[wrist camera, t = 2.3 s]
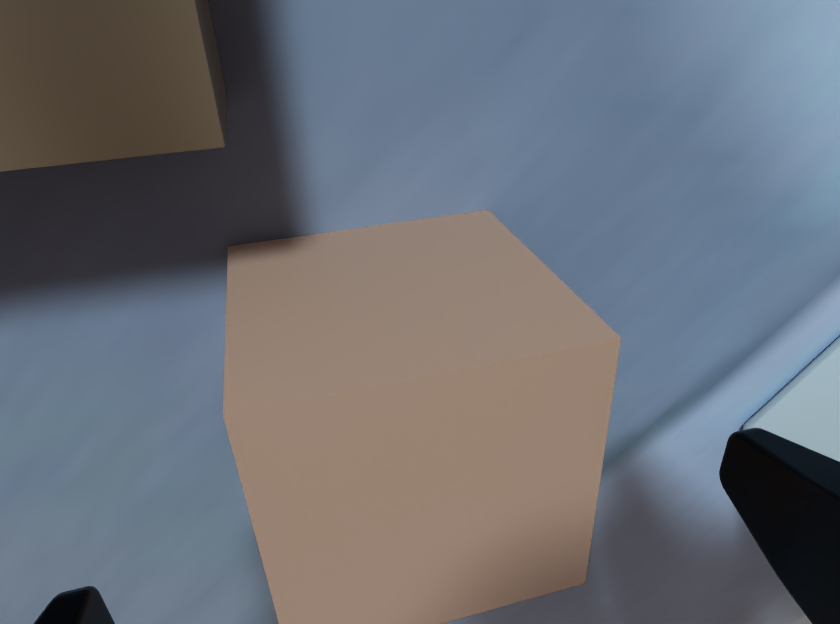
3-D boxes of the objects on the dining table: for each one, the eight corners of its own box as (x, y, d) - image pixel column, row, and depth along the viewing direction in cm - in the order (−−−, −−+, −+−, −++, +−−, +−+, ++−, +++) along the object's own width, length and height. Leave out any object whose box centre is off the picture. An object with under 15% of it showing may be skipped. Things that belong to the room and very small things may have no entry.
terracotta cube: (486, 208, 12) (620, 337, 8) (484, 405, 15) (584, 583, 10) (228, 244, 11) (223, 415, 7) (273, 449, 14) (290, 665, 9)
